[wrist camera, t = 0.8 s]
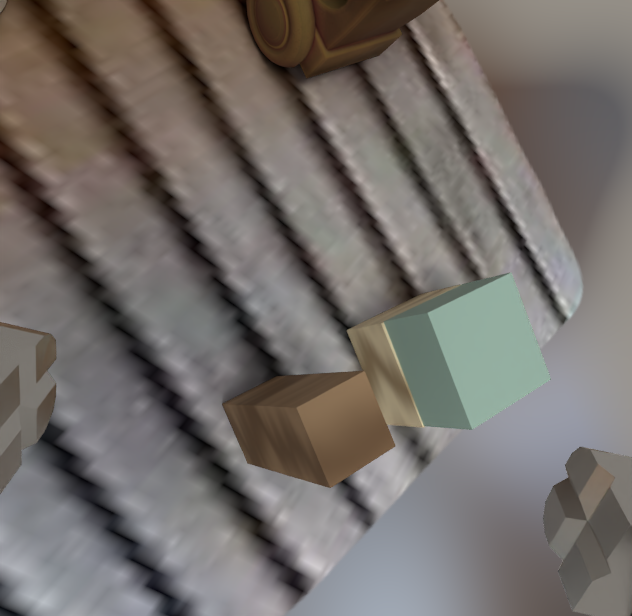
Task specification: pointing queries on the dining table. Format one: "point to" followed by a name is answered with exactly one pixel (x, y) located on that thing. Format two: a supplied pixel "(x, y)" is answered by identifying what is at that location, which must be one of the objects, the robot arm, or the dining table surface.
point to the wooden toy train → (328, 30)
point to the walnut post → (311, 425)
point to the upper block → (468, 353)
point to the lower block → (388, 364)
